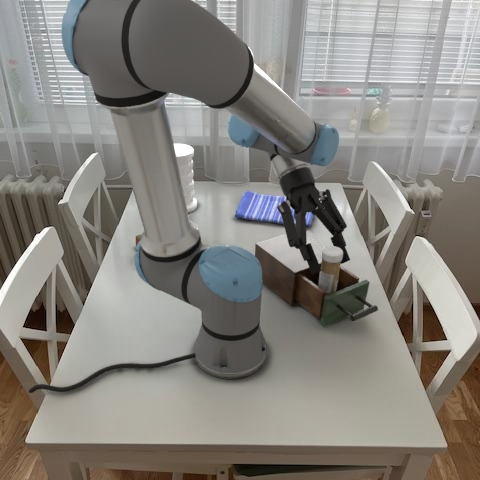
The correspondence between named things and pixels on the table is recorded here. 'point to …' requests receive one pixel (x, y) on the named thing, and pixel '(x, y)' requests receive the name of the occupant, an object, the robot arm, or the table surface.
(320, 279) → the sprinkles bottle
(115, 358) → the table surface
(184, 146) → the decorative container
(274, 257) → the cabinet
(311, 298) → the drawer
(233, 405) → the table surface
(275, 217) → the dish towel
